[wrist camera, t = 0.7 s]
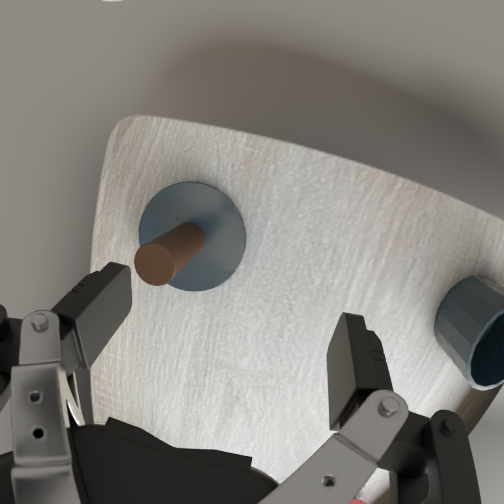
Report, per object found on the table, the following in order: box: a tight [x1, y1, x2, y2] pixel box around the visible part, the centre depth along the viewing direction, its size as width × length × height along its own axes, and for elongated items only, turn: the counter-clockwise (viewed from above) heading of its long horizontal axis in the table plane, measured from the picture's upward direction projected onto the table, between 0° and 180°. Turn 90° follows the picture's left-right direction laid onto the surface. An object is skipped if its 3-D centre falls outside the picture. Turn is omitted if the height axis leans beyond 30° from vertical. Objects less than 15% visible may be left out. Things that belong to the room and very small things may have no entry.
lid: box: [134, 182, 246, 291], centre depth 23 cm, size 10×10×9 cm
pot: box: [435, 276, 504, 390], centre depth 24 cm, size 9×9×8 cm
